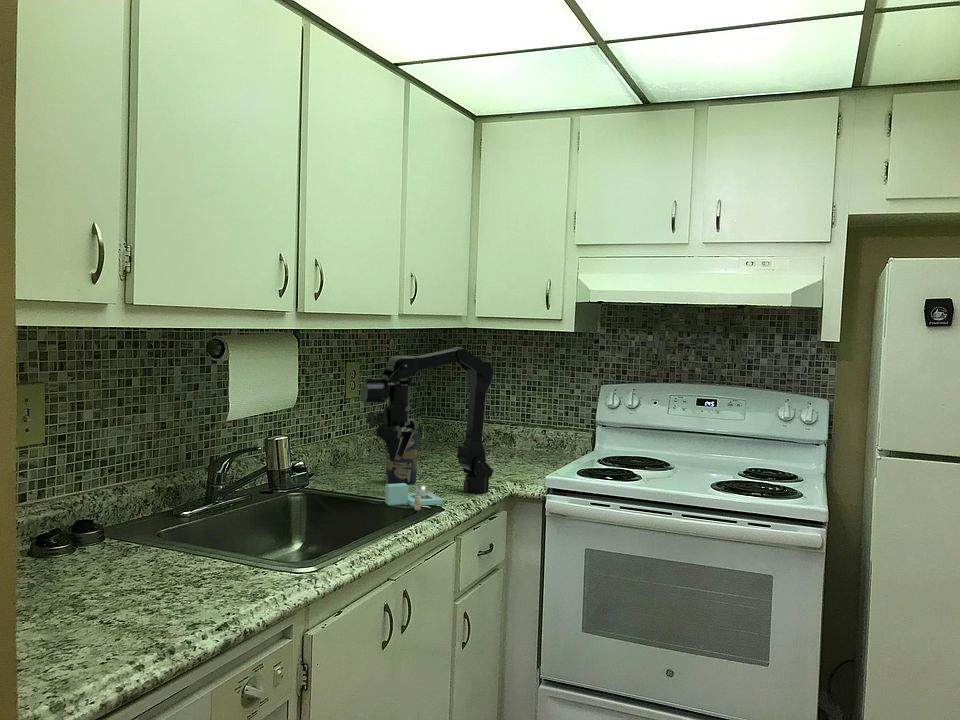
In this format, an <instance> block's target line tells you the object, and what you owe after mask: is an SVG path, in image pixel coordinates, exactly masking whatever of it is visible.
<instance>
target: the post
mask: <svg viewBox="0 0 960 720" xmlns="http://www.w3.org/2000/svg"><path fill="white" fill-rule="evenodd" d="M415 486H416V489H415V493H416V496H421V499H427V492H428V485H426V484H425V485H424V484H416V485H415Z"/></svg>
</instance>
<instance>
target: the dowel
mask: <svg viewBox="0 0 960 720" xmlns="http://www.w3.org/2000/svg"><path fill="white" fill-rule="evenodd" d="M421 507H422V506H421V496H415V506H414V511H421Z"/></svg>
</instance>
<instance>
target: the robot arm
mask: <svg viewBox="0 0 960 720" xmlns="http://www.w3.org/2000/svg"><path fill="white" fill-rule="evenodd" d="M454 363H456V364H457V365H458V367H460V368H461V369H463V371H465V377H466V383H467V386H468V389H469V396H468V397H469V398H468V407H467V408H468V409H467V420H466V430H465V431H466V432H465V439H464V441H463V443H462V444H457V454H456V456H455V457H456V459H458V460H457V461H458V465H459V466H460V467H461V468H462V471H463V473H464V474H465V478H464V480H463V490H462V491H463V493H465V494H468V495H471V494H473V495H484V494H486V493H489V490H490V489H489V488H490V484H489V483H490V478H492V476H493V474H494V469H492V468H491V466H490V465H489V464H488V463H487V459H486V458H487V457H486V450H485V447H484V443H483V432H484V421H485V409H486V396H487V391H488V390H489V388H490V386H491V384H492V381H493V377H494V371H495V369H494V366H493V365H492V364H491V363H490V362H488V361H483V360H482V359H481V358H479V357H478V356H475V354H472V353H471V352H470V351H468V350H467V349H466V348H464V347H461V346H460V347H458V346H456V347H455V346H454V347H452V348H449V349H445V350H444V349H443V350H439V351H435V352H431V353H430V352H429V353H426V354H421V355H412V356H411V355H401V356H400V355H396V356H392V357H390V358H388V360H387V362H386V367H385V368H384V370H383V371H382V373H380V375H379V376H378V377H377V378H373V377H363V381H362V384H361V386H360V391H359V396H360V400H361V403H362V404H381V403H382V404H383V403H385V402H386V401H387V405H385V406H384V411H382V412H381V411H380V412H378V413H377V412H376V411H375V410H373V411H370V412H368V413H367V416H365V417H366V418H365V419H366V420H365V423H367V424H368V427H369V428H374V427H376V426H377V427H376V428H375V433H374V434H375V437H377V438H378V437H379V439H382V440H383V442H385V444H386V450H387V449H388V453H389V457H390V460H391V461H394V460H395V458H396V456H397V453H398V456H399V457H402V456H403V454H404V452H405V450H406V448H407V446H408V444H409V442H410V440H411V438H412V436H413V434H414V433H415V431H410V429H412V430H416V431H417V430H418V429H419V421H418V420H417V419H415V418H409V411H410V410H412V405H410V387H417V385H418V383H416V382H415V381H414V379H413V378H412V376H415V375H417V374H418V373H420V372H421V371H424V370H428V369H432V368H437V367H442V366H446V365H448V364H449V365H450V364H454ZM380 424H381V425H380Z"/></svg>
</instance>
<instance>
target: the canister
mask: <svg viewBox="0 0 960 720" xmlns="http://www.w3.org/2000/svg"><path fill="white" fill-rule="evenodd" d="M410 431H415V433H414V434H413V436H412V438H411V440H410V442H409V444H408V446H407V448H406V450H405V452H404V454H403V456H402V457H399V456H398V453H397V456H396V458H395V460H394V461H391V460H390V457H389V453H388V449H387V448H386V454H385V455H386V457H385V484H398V483H405V484H407V485H409V486H413V485H415V484H416V483H417V474H418V473H417V471H418V450H419V449H418V448H419V447H418V446H419V432H418V431H417V429H416V430H413V428H410Z"/></svg>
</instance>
